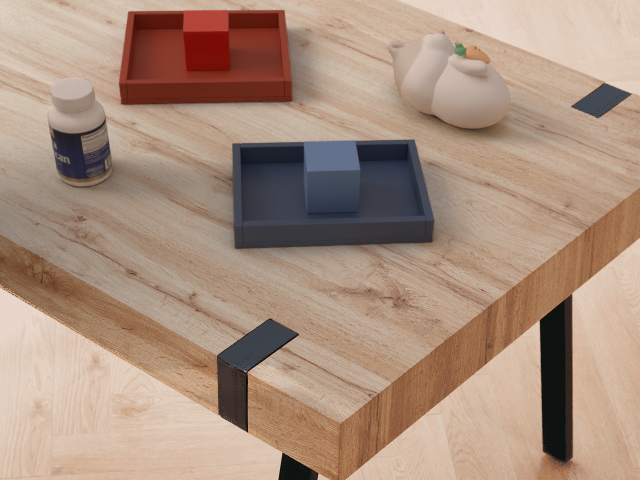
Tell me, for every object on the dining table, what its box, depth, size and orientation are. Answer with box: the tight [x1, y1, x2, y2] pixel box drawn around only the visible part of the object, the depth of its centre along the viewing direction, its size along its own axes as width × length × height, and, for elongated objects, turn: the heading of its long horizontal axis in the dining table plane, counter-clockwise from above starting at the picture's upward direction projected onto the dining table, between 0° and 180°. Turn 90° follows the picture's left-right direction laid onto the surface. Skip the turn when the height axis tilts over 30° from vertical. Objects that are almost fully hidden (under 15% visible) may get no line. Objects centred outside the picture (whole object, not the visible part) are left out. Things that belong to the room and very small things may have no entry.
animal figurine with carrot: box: [386, 29, 511, 130], centre depth 116 cm, size 10×8×15 cm
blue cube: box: [303, 139, 360, 213], centre depth 104 cm, size 5×5×5 cm
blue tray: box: [231, 138, 435, 249], centre depth 105 cm, size 19×14×3 cm
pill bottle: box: [47, 76, 113, 188], centre depth 104 cm, size 5×5×10 cm
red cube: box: [183, 9, 230, 71], centre depth 123 cm, size 5×5×5 cm
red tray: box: [118, 9, 293, 105], centre depth 124 cm, size 19×17×3 cm
